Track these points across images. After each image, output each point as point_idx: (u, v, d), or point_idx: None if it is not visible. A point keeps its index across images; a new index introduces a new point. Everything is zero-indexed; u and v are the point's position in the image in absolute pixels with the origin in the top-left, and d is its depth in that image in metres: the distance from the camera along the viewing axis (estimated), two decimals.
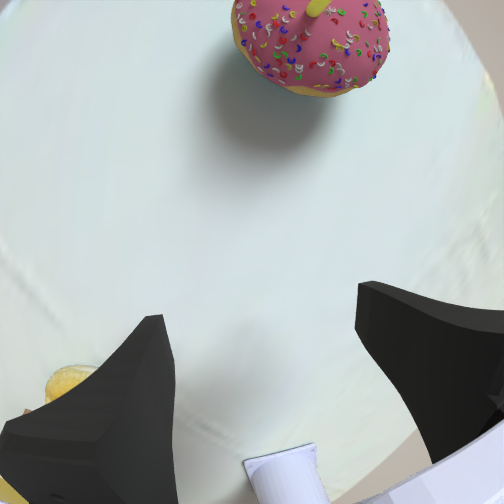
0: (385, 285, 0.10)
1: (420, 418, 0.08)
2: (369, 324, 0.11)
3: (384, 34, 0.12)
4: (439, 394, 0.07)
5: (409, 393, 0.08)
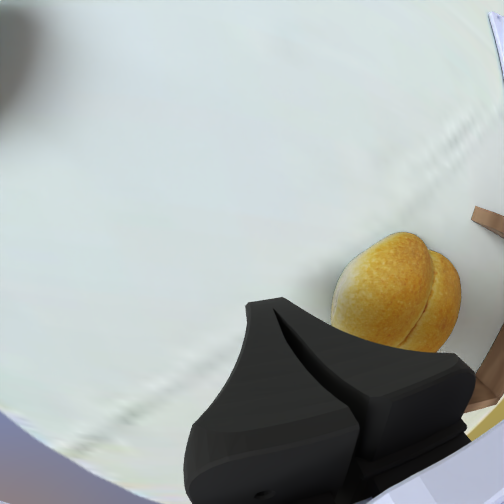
0: (290, 303, 0.10)
1: None
2: None
3: None
4: None
5: None
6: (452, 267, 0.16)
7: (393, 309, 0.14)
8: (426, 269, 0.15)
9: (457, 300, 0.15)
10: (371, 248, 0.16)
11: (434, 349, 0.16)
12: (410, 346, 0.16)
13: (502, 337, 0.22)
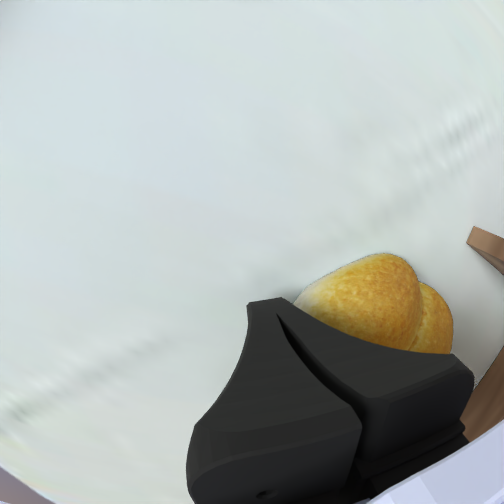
0: (288, 303, 0.10)
1: None
2: None
3: None
4: None
5: None
6: (446, 307, 0.12)
7: None
8: (413, 307, 0.11)
9: (447, 351, 0.11)
10: (341, 270, 0.12)
11: None
12: None
13: (481, 390, 0.18)
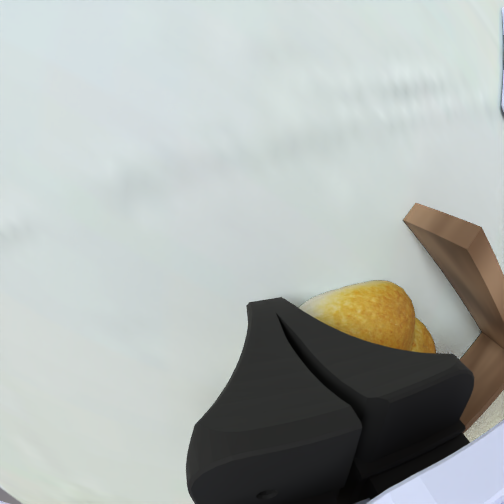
0: (288, 303, 0.10)
1: None
2: None
3: None
4: None
5: None
6: (433, 344, 0.13)
7: None
8: (408, 336, 0.11)
9: None
10: (347, 288, 0.12)
11: None
12: None
13: None
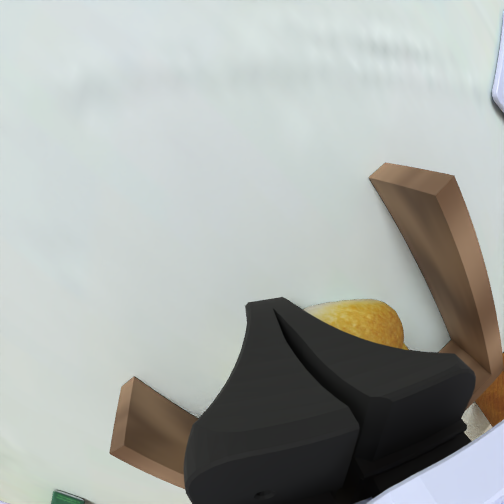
0: (289, 303, 0.10)
1: None
2: None
3: None
4: None
5: None
6: None
7: None
8: None
9: None
10: (344, 302, 0.12)
11: None
12: None
13: None
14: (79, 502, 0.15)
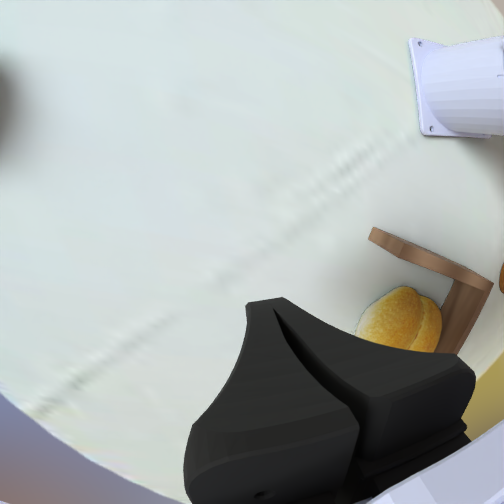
0: (289, 303, 0.10)
1: None
2: None
3: None
4: None
5: None
6: (436, 308, 0.24)
7: (395, 339, 0.22)
8: (417, 312, 0.22)
9: (438, 330, 0.23)
10: (382, 299, 0.24)
11: None
12: None
13: None
14: None
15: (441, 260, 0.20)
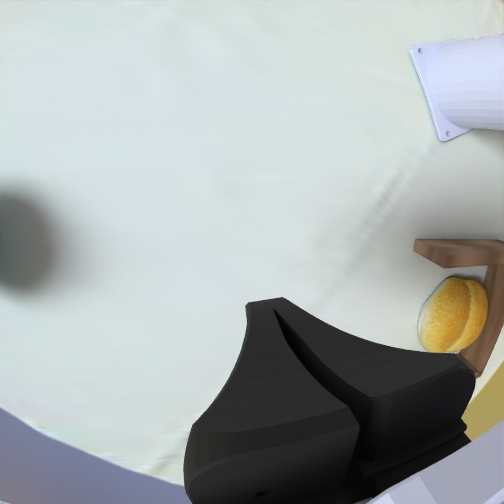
0: (290, 303, 0.10)
1: None
2: None
3: None
4: None
5: None
6: (480, 287, 0.25)
7: (452, 327, 0.23)
8: (466, 299, 0.23)
9: (485, 306, 0.24)
10: (434, 295, 0.25)
11: (476, 336, 0.25)
12: (463, 339, 0.25)
13: None
14: None
15: (479, 255, 0.21)
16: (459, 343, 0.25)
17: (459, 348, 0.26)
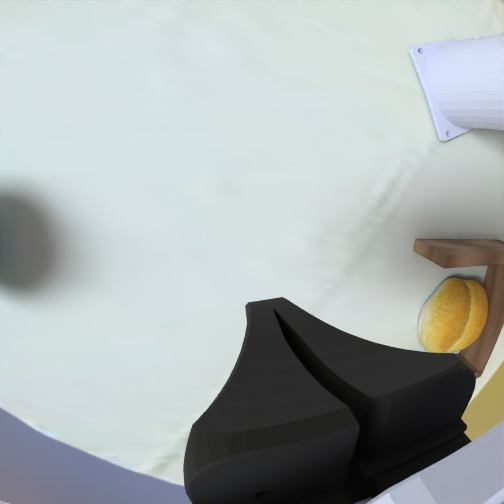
0: (290, 303, 0.10)
1: None
2: None
3: None
4: None
5: None
6: (480, 287, 0.25)
7: (452, 327, 0.23)
8: (466, 299, 0.23)
9: (485, 306, 0.24)
10: (435, 295, 0.25)
11: (477, 336, 0.25)
12: (463, 339, 0.25)
13: None
14: None
15: (479, 255, 0.21)
16: (459, 343, 0.25)
17: (459, 348, 0.26)
